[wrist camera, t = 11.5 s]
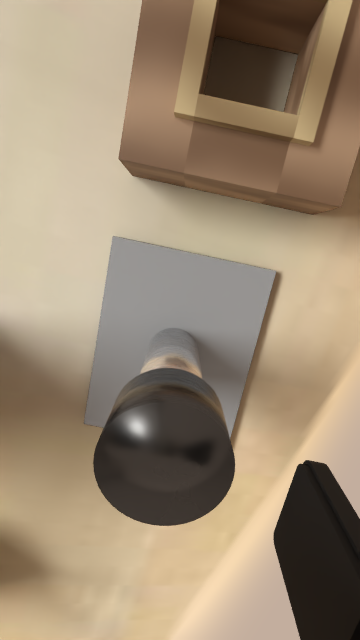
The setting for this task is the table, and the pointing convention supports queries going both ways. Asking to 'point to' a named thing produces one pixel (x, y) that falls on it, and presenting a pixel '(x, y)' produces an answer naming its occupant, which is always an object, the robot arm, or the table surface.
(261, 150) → the walnut eye block
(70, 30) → the table surface
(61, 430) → the table surface
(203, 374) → the slate mat
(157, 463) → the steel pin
